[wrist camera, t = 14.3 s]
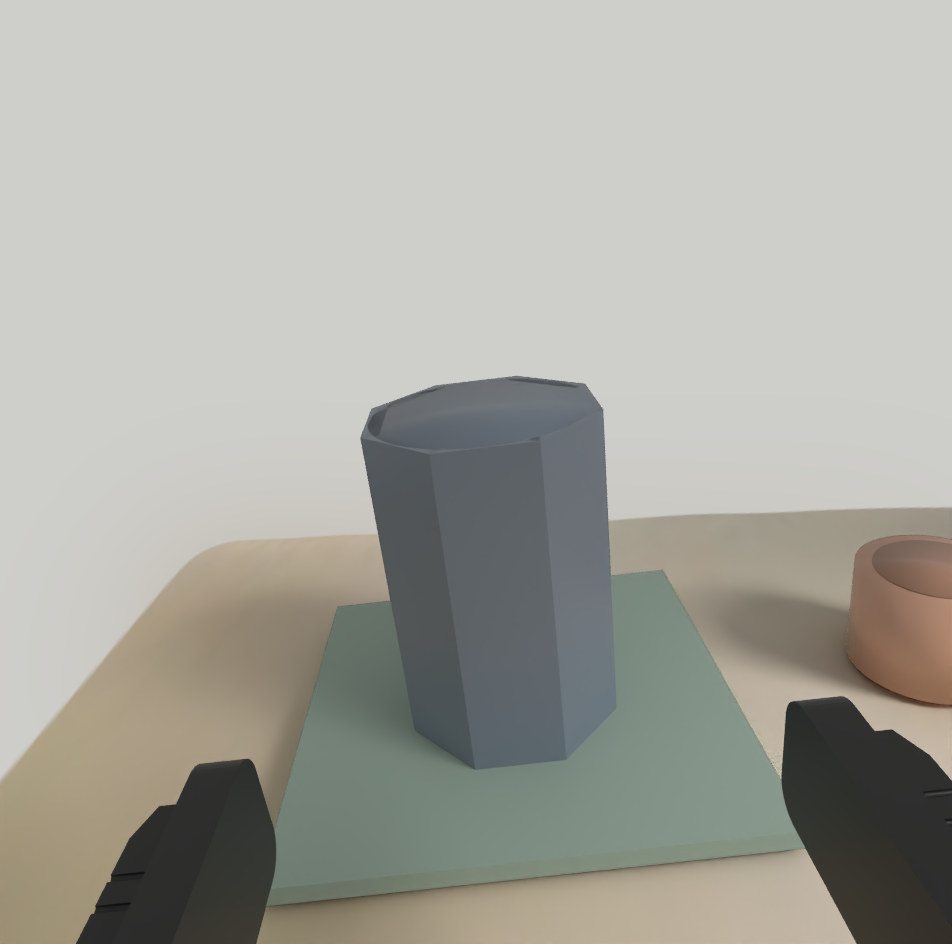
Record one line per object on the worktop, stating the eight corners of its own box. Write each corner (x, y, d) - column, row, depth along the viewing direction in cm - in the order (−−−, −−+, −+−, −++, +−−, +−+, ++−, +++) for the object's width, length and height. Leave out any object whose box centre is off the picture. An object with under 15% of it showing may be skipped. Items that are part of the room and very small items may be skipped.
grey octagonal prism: (589, 624, 26) (574, 369, 23) (630, 752, 20) (619, 431, 16) (420, 644, 26) (378, 392, 23) (411, 777, 20) (350, 463, 17)
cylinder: (945, 612, 25) (959, 526, 24) (1044, 696, 21) (1068, 597, 20) (820, 626, 26) (828, 541, 24) (894, 712, 21) (908, 615, 20)
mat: (663, 582, 30) (662, 569, 29) (807, 847, 17) (809, 830, 17) (340, 618, 30) (337, 606, 29) (262, 906, 18) (257, 890, 17)
